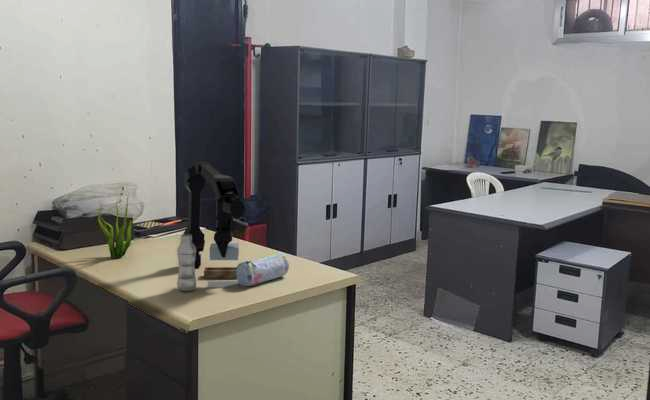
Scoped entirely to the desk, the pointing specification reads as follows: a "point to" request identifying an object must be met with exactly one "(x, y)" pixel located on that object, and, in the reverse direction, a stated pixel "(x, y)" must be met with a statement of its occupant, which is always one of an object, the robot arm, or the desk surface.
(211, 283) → the mat
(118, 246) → the decorative plant
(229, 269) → the tray
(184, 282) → the plastic bottle
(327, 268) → the desk surface
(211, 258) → the cover
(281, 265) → the pencil case
